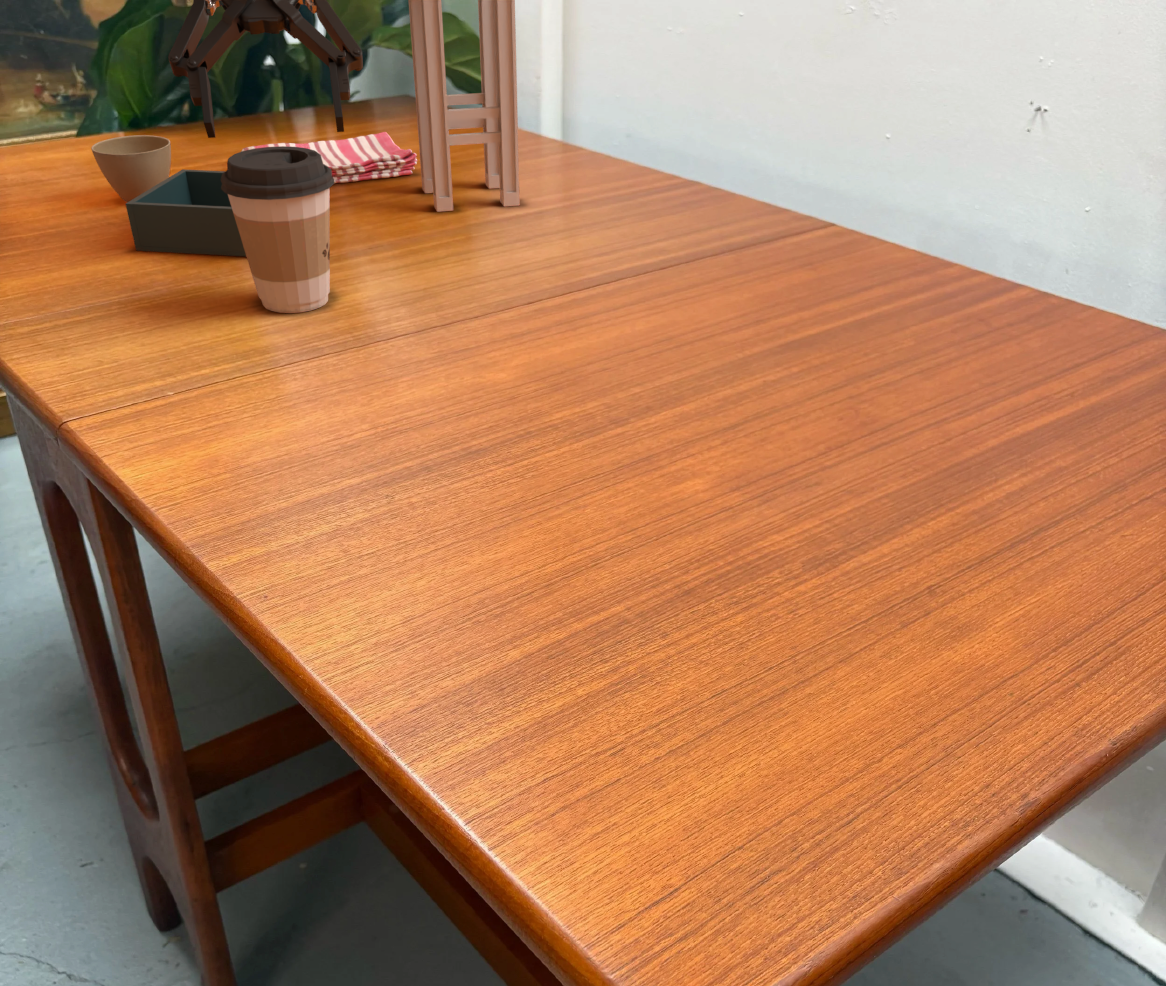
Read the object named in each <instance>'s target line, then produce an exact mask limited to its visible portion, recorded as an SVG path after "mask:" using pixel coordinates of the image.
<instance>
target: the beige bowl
mask: <svg viewBox="0 0 1166 986" xmlns="http://www.w3.org/2000/svg"><path fill="white" fill-rule="evenodd" d="M171 145H172V143H171V140H170V139H169V138H166V137H164V136H158V135H146V134H138V135H137V134H135V135H125V136H118V137H112V138H108V139H104V140H100V141H98V142H96V143H94V144H93V145H92V146H91V147H90V148H91V152H92V155H93V157H94V159H95V162H96V164H97V165H98V168H99V170H100V171H101V173H102V175H103V176H104V178H105V179H106V181H107V182H108V184H109V186H111V188H112V189H113V190H114V191H115V193H117V195H118V196H119V197H120V198H121V199H122V200H123V201H124V202H125V203H127V202H129V201H131V200H132V199H134V198H136V197H137V196H139V195H141V194H142V193H144V192H146V191H147V190H149V189H151V188H152V187H154V186H156V185H157V184H159V183H161V182H162V181H164V180H166V179H167V178H169V177H170V173H171V168H172V167H171V165H172V146H171Z"/></svg>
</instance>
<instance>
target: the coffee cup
mask: <svg viewBox="0 0 1166 986" xmlns="http://www.w3.org/2000/svg"><path fill="white" fill-rule="evenodd" d="M241 151H242V150H241ZM241 151H239V152H236V153H234V154H232V155H231V156H229V157H228V158H227V162H226V163H227V166H226V167H227V168H226V169H227V170H224V171H225V172H224V173H222V176H221V183H222V186H221V190H223V191H224V192H225V193H226V194H228V197H229V200H230V204H231V207H232V210H233V214H234V217H235V220H236V224H237V227H238V230H239V233H240V237H241V240H242V243H243V247H244V250H245V253H246V256H245V257H246V260H247V263H248V267H249V270H250V273H251V276H252V280H253V282H254V283H253V284H254V286H255V289H256V293H257V296H258V298H259V300H260V301H261V303H262V306H263V307H264V308H265V309H266V310H268V311H271V312H275V313H281V314H285V313H286V314H297V313H306V312H310V311H313V310H317V309H319V308H321V307H324V306H325V305H326V304H327V303H328V302H329V294H330V293H331V283H330V281H331V276H330V275H331V267H330V266H331V265H330V263H331V262H330V261H331V256H330V255H331V254H330V253H331V249H330V248H331V247H330V245H331V243H330V242H331V241H330V237H331V236H330V233H331V232H330V229H331V226H330V220H331V219H330V217H331V216H330V213H331V212H330V211H331V209H330V208H331V207H330V202H331V201H330V199H331V197H330V195H331V194H330V188H331V187H332V186H333V185H335V183H334V178H333V177H332V170H331V169H330V168H329V167H328V166H326V165H325V164H323V161H322V158H321V155H320V154H319V153H317V152H316V151H314V150H311V149H307V148H301V147H286V146H279V147H264V148H255V149H250V150H246V151H242V152H241Z"/></svg>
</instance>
